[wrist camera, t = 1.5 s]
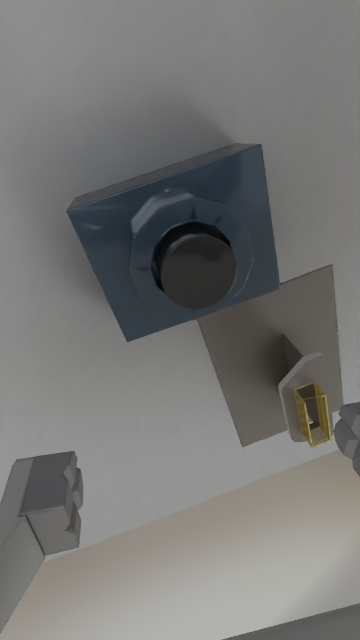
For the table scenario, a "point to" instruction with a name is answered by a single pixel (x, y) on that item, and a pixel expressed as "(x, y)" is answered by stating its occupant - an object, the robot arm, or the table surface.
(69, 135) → the table surface
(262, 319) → the platform
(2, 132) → the table surface
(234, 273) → the dark grey push button
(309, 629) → the robot arm
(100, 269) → the blue push button box
